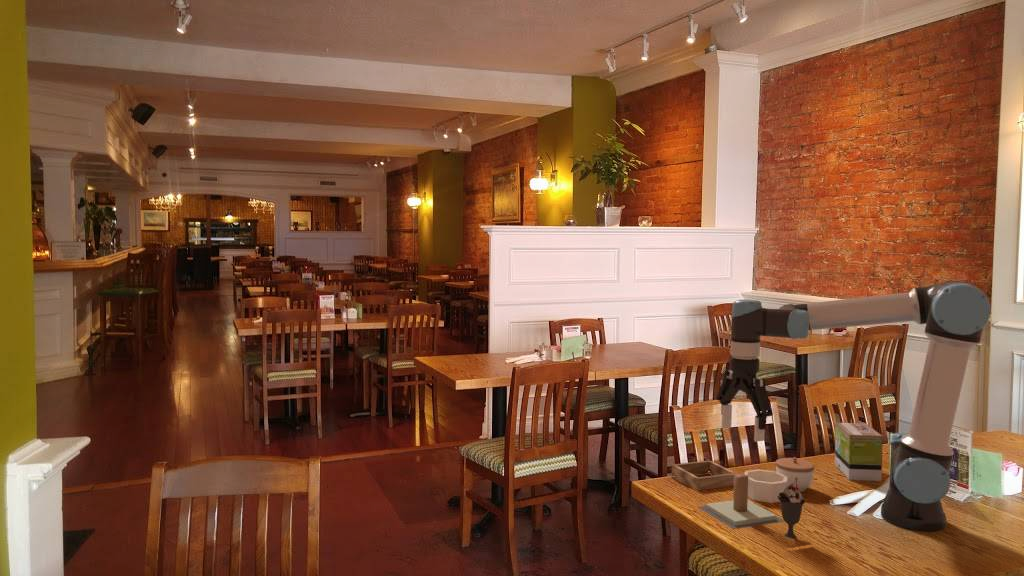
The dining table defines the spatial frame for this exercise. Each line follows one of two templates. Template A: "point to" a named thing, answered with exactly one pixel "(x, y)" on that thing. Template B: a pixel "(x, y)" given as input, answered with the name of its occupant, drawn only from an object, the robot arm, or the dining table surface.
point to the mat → (739, 525)
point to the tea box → (858, 451)
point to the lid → (740, 506)
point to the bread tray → (689, 470)
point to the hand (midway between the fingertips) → (742, 434)
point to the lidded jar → (796, 471)
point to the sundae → (791, 507)
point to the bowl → (765, 485)
